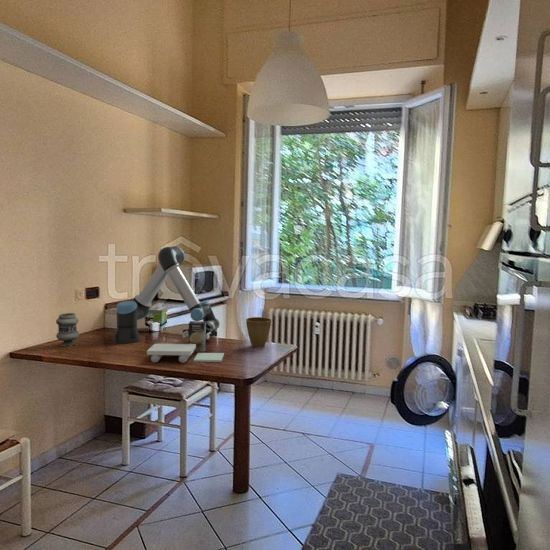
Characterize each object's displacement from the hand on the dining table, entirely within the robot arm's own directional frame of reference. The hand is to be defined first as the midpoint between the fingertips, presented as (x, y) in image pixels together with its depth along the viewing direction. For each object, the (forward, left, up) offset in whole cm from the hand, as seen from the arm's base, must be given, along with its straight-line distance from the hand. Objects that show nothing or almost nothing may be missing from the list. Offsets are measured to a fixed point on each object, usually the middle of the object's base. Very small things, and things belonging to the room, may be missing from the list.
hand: (195, 335), depth 254 cm
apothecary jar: (-76, +12, -9) cm, 77 cm away
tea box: (-36, +60, -9) cm, 71 cm away
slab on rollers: (-10, -15, -9) cm, 20 cm away
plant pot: (+34, +15, -9) cm, 39 cm away
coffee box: (0, +3, -9) cm, 10 cm away
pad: (+9, -13, -9) cm, 18 cm away
